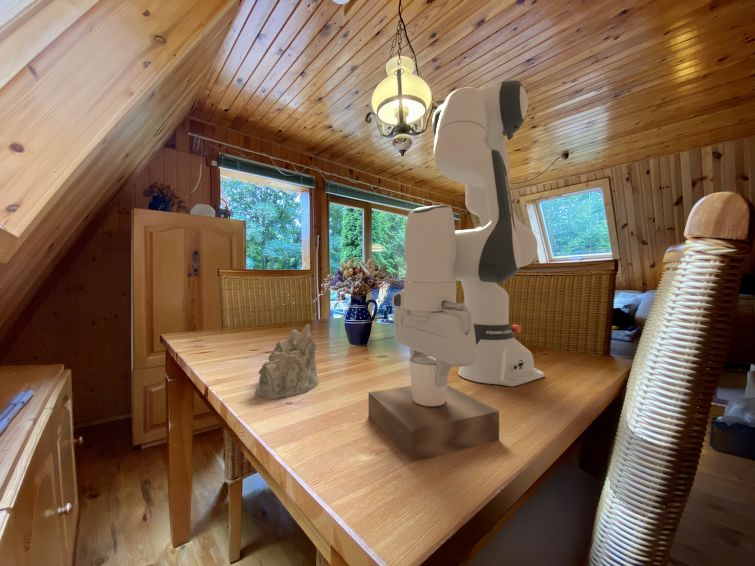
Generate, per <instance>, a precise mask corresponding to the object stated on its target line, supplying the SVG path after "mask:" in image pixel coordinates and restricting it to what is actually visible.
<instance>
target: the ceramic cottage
mask: <svg viewBox="0 0 755 566" xmlns="http://www.w3.org/2000/svg"><path fill="white" fill-rule="evenodd" d="M316 350H317V345H316V343H315V342H314V341H313V339H312V334H311V324H309V323H308V324H305V326H304V328H303V329H302V332H301V333H300V332H298V330H296V329H292V330H290V332H289V337H288V339H284V340H279V341H277V343H276V344H275V347H274V350H272V352H271V353H270V355H268V358H267V359H268V361H265V362H264V363H263V364H262V366H261V368H260V369H259V370H258V374H259V375H260V376H259V377H258V378H259V379H258V387H256V389H255V391H254V392H255V393H254V394H255V395H256V396H257V395H258V396H257V397H262V398H264V399H265V398H266V400H279V399H282V398H289V397H292V396H298V395H301V394H304V393H306V392H309V391H310V390H313V389H315V388H317V387H318V386H319V384H320V382H319V378H318V375H317V362H316V359H315V358H316Z"/></svg>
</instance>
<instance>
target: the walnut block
mask: <svg viewBox="0 0 755 566" xmlns="http://www.w3.org/2000/svg"><path fill="white" fill-rule="evenodd" d="M368 418H369V419H370V420H371V421H372V422H373V423H374V425H375V426H377V428H378V429H379V430H380V431H381V432H382V434H384V435H385V437H386V438H387V439H389V441H390V442H391V443H393V445H394V446H395V447H396V448H397V449H398V450H399V451H400V453H402V455H404V456H405V458H406V459H407V460H408V461H409V462H410V463H411V464H412V463H416V462H421V461H424V460H428V459H431V458H436V457H439V456H442V455H446V454H450V453H455V452H458V451H462V450H465V449H469V448H470V449H471V448H473V447H477V446H481V445H486V444H488V443H493V442H496V441H499V440H500V411H499V410H498V409H495V408H493V407H492V406H490V405H488V404H486V403H484V402H482V401H480V400H478V399H476V398H474V397H473V396H470V395H468V394H466V393H464V392H462V391H460V390H459V389H456V388H454V387H452V386H451V385H448V384H447V393H446V402H445V403H444V404H442V405H439V406H424V405H420V404H417V403H416V402H414V401H413V396H412V385H408V386H402V387H395V388H390V389H389V388H388V389H382V390H376V391H368Z"/></svg>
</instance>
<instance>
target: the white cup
mask: <svg viewBox="0 0 755 566" xmlns="http://www.w3.org/2000/svg"><path fill="white" fill-rule="evenodd" d="M408 361H409V370H410V371H409V372H410V373H409V374H410V383H411V385H410V386H412V396H413V401H414V402H416V403H417V404H420V405H424V406H439V405H442V404H444V403H445V402H446V393H447V385H448V381H449V374H448V375H447V385H446V386H442V387H439V386H437V385H436V384H435V375H436V372H437V369H438V366H437V365H436V359H435V358H433V357H430V356H428V355H425V354H422V356H415V357H411V356H410V358H409V359H408Z"/></svg>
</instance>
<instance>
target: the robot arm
mask: <svg viewBox="0 0 755 566" xmlns="http://www.w3.org/2000/svg"><path fill="white" fill-rule="evenodd" d="M528 107H529V99H528V95H527V91H526V90H525V88H524V86H523V84H522V83H521V82H520V81H519V80H515V79H514V80H504V81H502V82H501V83H499V84H493V85H489V86H486V87H481V88H479V89H477V88H475V87H469V86H465V87H461V88H458V89H455V90H454V91H452V92H451V93H450V94H448V96H447V97H446V99H445V101H444V103H442V104H440V105H439V106H437V108H436V109H435V112H434V113H433V116H432V123H431V124H432V131H433V135H434V144H433V145H434V146H433V159H434V163H435V166H436V168H437V169H438V172H440V173H441V174H442V175H443V176H444V177H445V178H447V179H449V180H450V181H453V182H455V183H458V184H462V185H463V184H464V189H465V190H464V191H465V192H464V194H465V195H464V197H465V199H464V200H465V201H464V204H465V207H466V209H467V210H468V211H469V212H470V213H471V214H472V215H475V216H477V217H478V219H479V222H480V227H479V228H471V229H470V228H469V229H461V230H460V229H459V230H458V229H457V230H456V225H455V218H454V217H455V216H454V212H453V211H454V210H453V208H452V207H451V206H449V205H444V204H439V205H430V206H422V207H416V208H414V209H412V210H411V211H409V212H408V214H407V219H406V224H405V230H404V244H403V245H404V246H403V248H404V249H403V251H404V252H403V257H404V262H405V266H406V268H405V269H406V271H405V275H404V278H403V286H404V287H403V288H402V289H401V290H400V291H398V292H396V293H395V294H393V295H392V299H391V300H392V301H391V304H392V307H394V310H393V334H394V338H395V341H396V343H397V344H399V345H401V346H403V347H406V348H408V349H409V355H410V358H411V357H415V356H422V355H428V356H430V357H433V358H435V359H436V365H437V366H438V369H437V372H436V375H435V384H436V385H437V386H439V387H442V386H446V385H448V383H447V375H448V376H449V373H450V371H451V369H452V367H455V368H459V369H458V371H457V373H458V375H459V376H460V377H462V378H463V379H466V380H469V381H472V382H475V383H481V384H489V385H491V384H493V385H502V386H507V387H516V386H520V385H522V384H526V383H530V382H531V381H534V380H539V379H542V378H543V377H545V373H544V372H543V371H541V370H540V369H538V368H535V365H534V355H533V354H532V352H531V350H529V349H528V348H527V347H525V346H524V345H523V344H522V343H521V342H520V341H518V340H517V339H516V338H515V335H514V333H518V334H519V333H521V331H522V326H521V325H519V324H512V325H511V324H510V323H509V322H510V321H509V320H510V318H509V317H510V313H509V312H510V311H509V310H510V296H509V294H508V292H507V291H506V290H505V289H504V288H503V287H501V286H500V285H498V284H503V283H505V282H506V281H508V280H509V279H510V278H512V277H513V276H514V275H515V274H516V273H517V272H518V271H519V270H520V268H522V267H526V266H528V265H530V264H531V263H532V262H533V260H534V259H535V258H536V255H537V253H538V239H537V238H536V235H535V234H534V232H533V230H531V229H530V227H528V226H526V225H525V224H523V222H521V221H520V220H519V219H518V217H517V216H516V214H515V211H514V210H513V205H512V199H511V197H512V196H511V191H510V189H511V188H510V159H509V152H508V147H507V143H506V139H505V137H507V141H510V140H512V139H513V137H514V134H515V133H516V132H517V131H519V130H520V128H521V127H522V125H523V124H524V122H525V120H526V116H527V112H528ZM457 281H458V282H459V281H460V283H461V287H462V289H463V290H462V291H463V298H464V299H463V301H464V303H463V302H457Z"/></svg>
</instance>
